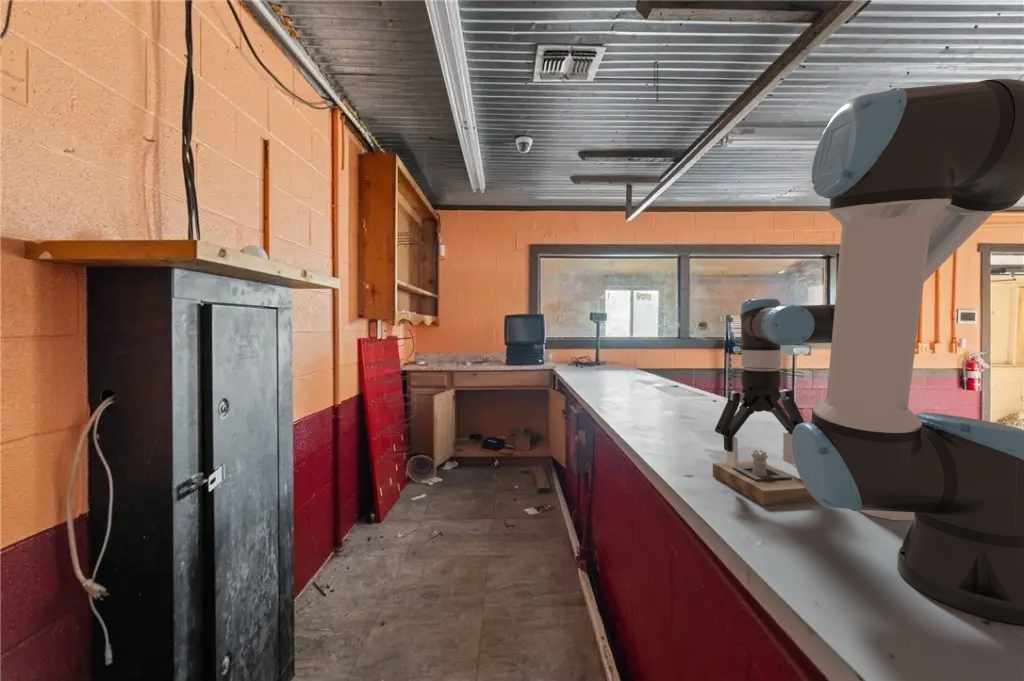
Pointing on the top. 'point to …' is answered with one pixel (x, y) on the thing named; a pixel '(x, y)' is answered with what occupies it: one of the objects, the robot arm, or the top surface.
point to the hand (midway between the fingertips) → (761, 464)
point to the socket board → (763, 484)
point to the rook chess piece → (759, 463)
